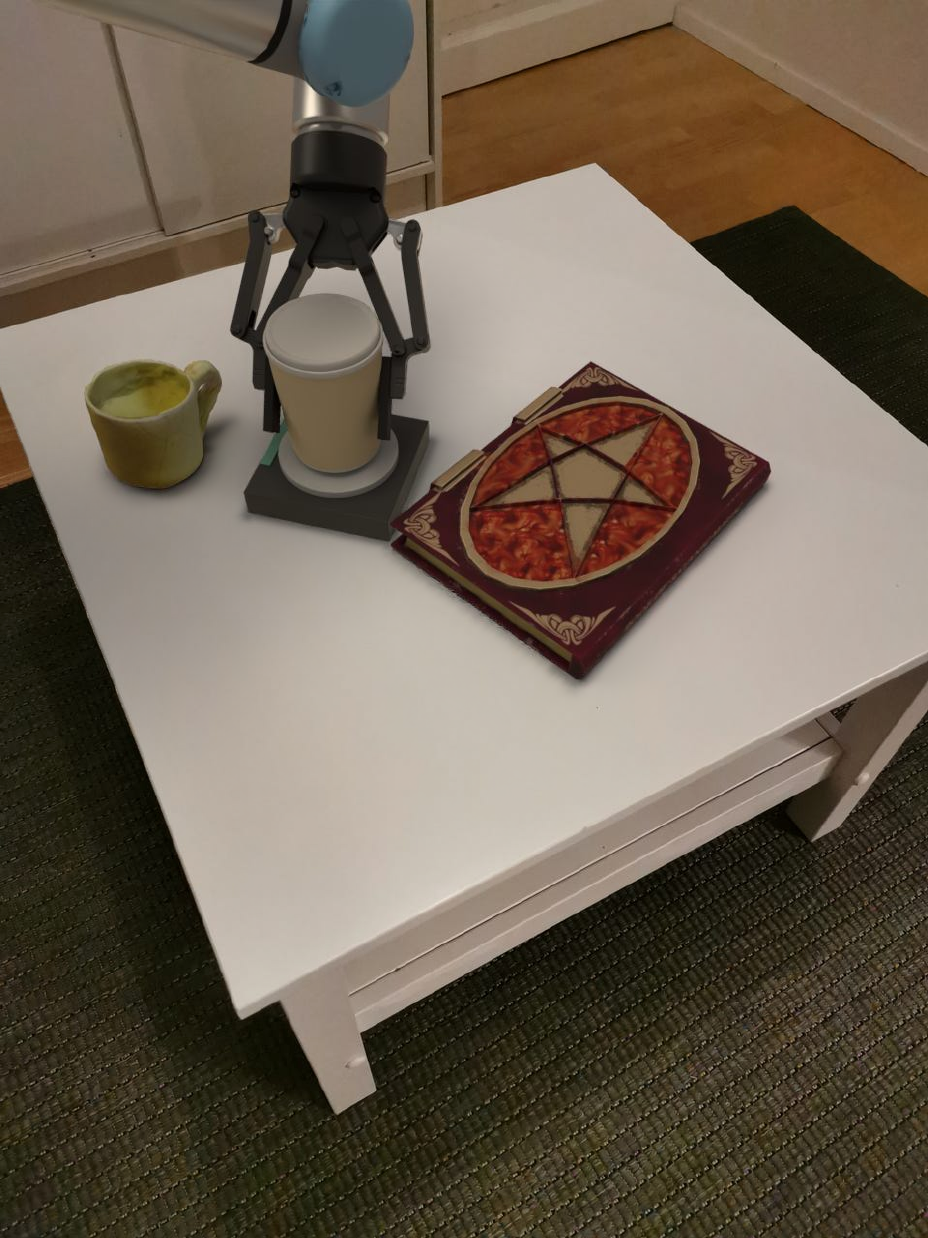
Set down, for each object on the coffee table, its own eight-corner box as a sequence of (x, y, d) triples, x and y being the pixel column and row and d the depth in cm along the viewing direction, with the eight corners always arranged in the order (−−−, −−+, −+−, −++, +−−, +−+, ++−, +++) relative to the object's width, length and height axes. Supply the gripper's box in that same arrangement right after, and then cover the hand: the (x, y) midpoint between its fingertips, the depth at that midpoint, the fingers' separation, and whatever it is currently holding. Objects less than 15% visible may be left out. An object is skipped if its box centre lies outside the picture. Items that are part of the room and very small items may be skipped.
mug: (121, 511, 78) (96, 397, 73) (88, 471, 85) (63, 364, 80) (255, 479, 84) (242, 371, 78) (214, 444, 91) (199, 343, 86)
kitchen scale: (248, 512, 81) (241, 485, 78) (299, 415, 88) (295, 388, 86) (389, 541, 79) (387, 515, 76) (429, 440, 87) (429, 414, 84)
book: (580, 686, 71) (589, 651, 67) (383, 544, 79) (382, 505, 75) (763, 489, 84) (780, 450, 80) (579, 383, 92) (587, 343, 88)
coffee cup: (410, 430, 82) (405, 314, 72) (350, 495, 77) (336, 381, 67) (325, 393, 84) (309, 277, 74) (261, 454, 79) (236, 338, 70)
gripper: (476, 166, 75) (458, 445, 79) (219, 152, 76) (213, 429, 80) (474, 133, 68) (454, 442, 71) (189, 117, 69) (183, 424, 72)
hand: (327, 435), depth 76 cm, fingers closed on coffee cup, 9 cm apart
